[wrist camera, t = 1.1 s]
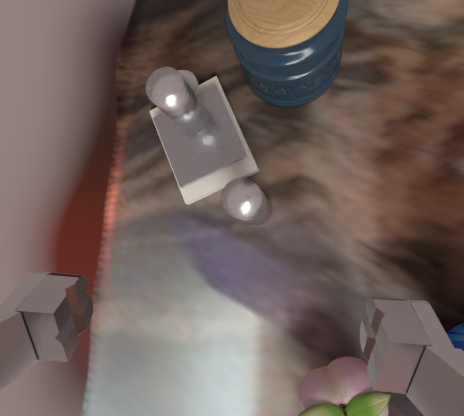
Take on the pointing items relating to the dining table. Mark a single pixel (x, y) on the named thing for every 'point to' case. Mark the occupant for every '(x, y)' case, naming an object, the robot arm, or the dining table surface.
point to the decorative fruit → (341, 391)
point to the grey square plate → (201, 142)
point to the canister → (287, 46)
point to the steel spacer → (246, 201)
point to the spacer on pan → (177, 100)
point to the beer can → (457, 336)
